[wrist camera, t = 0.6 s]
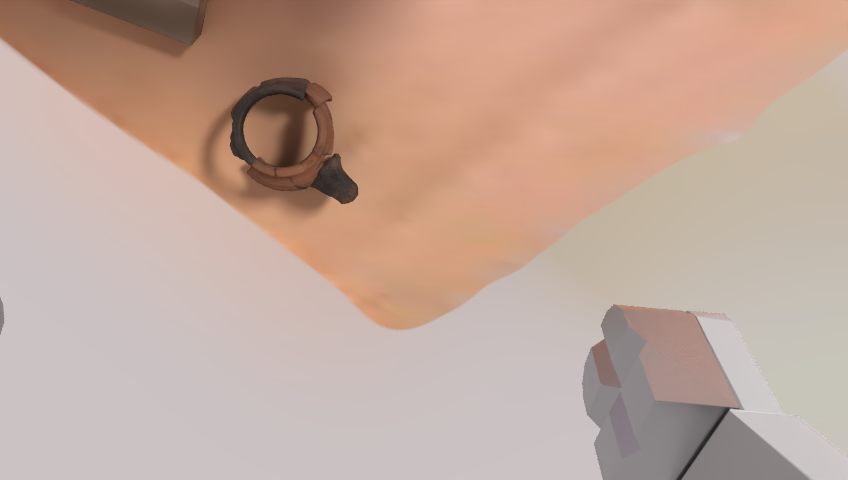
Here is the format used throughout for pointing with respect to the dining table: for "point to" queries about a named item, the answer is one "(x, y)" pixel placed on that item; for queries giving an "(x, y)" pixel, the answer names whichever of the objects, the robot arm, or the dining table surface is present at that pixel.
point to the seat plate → (157, 15)
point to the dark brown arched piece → (310, 169)
